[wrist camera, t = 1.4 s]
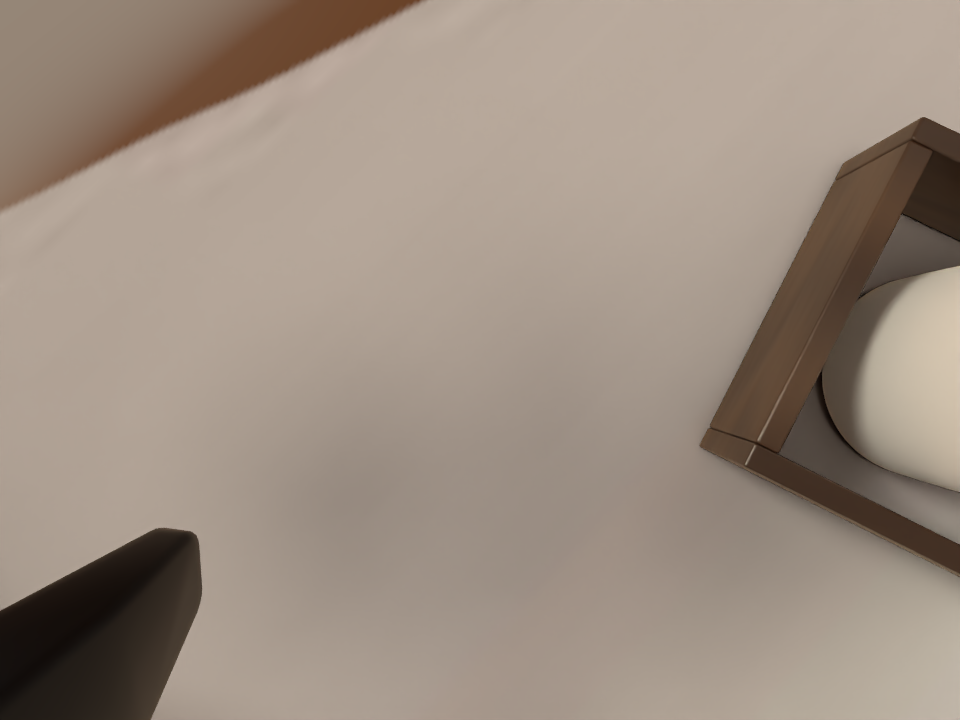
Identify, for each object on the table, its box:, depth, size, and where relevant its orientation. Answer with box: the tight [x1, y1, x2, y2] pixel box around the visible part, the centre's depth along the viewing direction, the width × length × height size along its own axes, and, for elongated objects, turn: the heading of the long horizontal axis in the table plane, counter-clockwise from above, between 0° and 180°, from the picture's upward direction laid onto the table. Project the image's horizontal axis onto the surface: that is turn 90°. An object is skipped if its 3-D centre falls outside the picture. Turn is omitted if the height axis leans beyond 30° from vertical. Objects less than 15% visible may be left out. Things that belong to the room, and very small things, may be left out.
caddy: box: [700, 117, 960, 577], centre depth 19 cm, size 10×10×4 cm
